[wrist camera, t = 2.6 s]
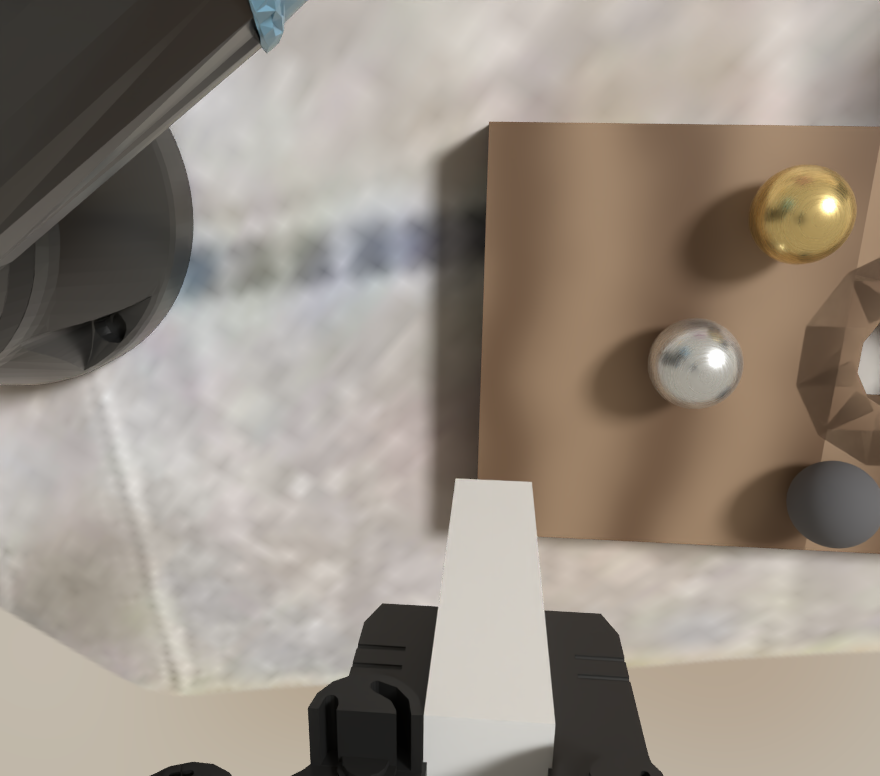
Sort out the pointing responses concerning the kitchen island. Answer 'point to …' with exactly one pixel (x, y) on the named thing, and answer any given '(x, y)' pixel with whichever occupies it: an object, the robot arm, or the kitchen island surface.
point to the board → (654, 309)
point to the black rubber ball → (834, 504)
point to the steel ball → (695, 363)
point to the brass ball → (802, 214)
